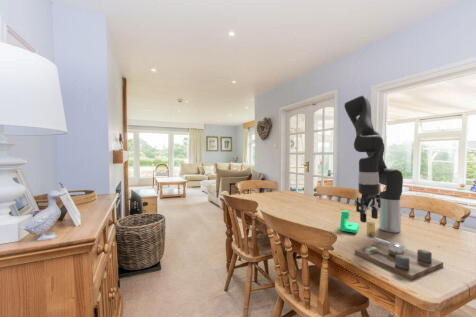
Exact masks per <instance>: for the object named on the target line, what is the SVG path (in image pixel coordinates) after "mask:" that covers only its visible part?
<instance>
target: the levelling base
mask: <svg viewBox="0 0 476 317" xmlns="http://www.w3.org/2000/svg"><path fill="white" fill-rule="evenodd" d="M388 247H389V246H388V245H385V244H383V243H380V242H377V243H373V244H371V245H368V246H364V247H359V248H356V249H354V254H355V255H357V256H359V257H362V258H364V259H366V260H368V261H370V262H372V263H375V264H376V265H379V266H381V267H383V268H385V269H388V270H390V271H391V272H393V273H396V274H398V275H400V276H402V277H404V278H406V279H409V280H411V281H414V280H415V279H418V278H419V277H422V276H424V275H427V274H428V273H432V272H433V271H435V270H438V269H440V268H442V267H444V262H443V261H441V260H438V259H436V258H432V255H433V254H432V252H431V251H429V250H426V249H421V248H419V249H417V252H415V251H413V250H410V249H407V248H406V247H404V256H403V255H395V257H393V256H391V255H389V254H388Z"/></svg>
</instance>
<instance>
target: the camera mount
mask: <svg viewBox="0 0 476 317" xmlns="http://www.w3.org/2000/svg"><path fill="white" fill-rule="evenodd" d="M340 216H341V217H340V224H339V225H340V226H339V230H340V231H343V232H348V233H349V232H350V233H355V234H357V233H358V232H359V228H360V224H359V223H357V222H350V221H348V220H349V219H350V211H349V210H341V214H340Z"/></svg>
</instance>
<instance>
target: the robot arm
mask: <svg viewBox="0 0 476 317" xmlns="http://www.w3.org/2000/svg"><path fill="white" fill-rule="evenodd" d="M371 108H372V107H371V104H370V101H369V99H368V98H367V96H366V95H359V96H357V97H355V98H353V99H350V100H349V101H347V102H345V103H344V110H345V112H346V114H347V116H348V118H349V119H350V121H351V123H352V125H353V127H354V129H355V135H356V136H355V139H354V142H353V148H354V150H355V151H356V152H358V153H366V155H367V156H366V157H361V158H359V160H358V177H357V178H358V181H357V182H358V193H359V194H360V195H361V197H356V210H355V211H356V212H357V213H359V220H360V222H361V223H363V224H364V223H367V222H368V220H367V212H368V210H370V208H371V214H370V215H371V218H372V219H375V220H377V219H378V218H379V221H378V222H379V223H378V224H379V225H378V226H379V230H381V231H384V232H388V233H393V234H394V233H395V234H396V233H400V232H401V229H402V228H401V227H402V226H401V224H402V223H401V222H402V221H401V220H402V219H401V218H402V217H401V196H402V194H403V183H404V176H403V173H402V171H400V170H399V169H396V168H388V167H387V165H386V163H385V161H384V160H385V159H384V154H385V143H384V139H383V138H382V137H381V134H380V133H379V131H378V132H377V131H376V130H375V129H374V128H375V127H374V125H373V121H372V109H371ZM380 184H381V185H382V186H385V190H384V191H383V190H382V191H380ZM378 210H379V211H378ZM378 212H379V215H378ZM378 216H379V217H378Z"/></svg>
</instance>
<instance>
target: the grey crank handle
mask: <svg viewBox="0 0 476 317" xmlns="http://www.w3.org/2000/svg"><path fill="white" fill-rule="evenodd" d="M366 237H368V239H369V240H371V241H374V242H377V243H383V244H385V245H388V246H389V247H388V254H389V255H391V256H393V257H395V255H403V256H404V248H405V245H403V244H401V243H399V242H394V241H393V242H392V241H387V240H384V239H383V238H379V237H376V223H375V222H373V221H367V222H366Z"/></svg>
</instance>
